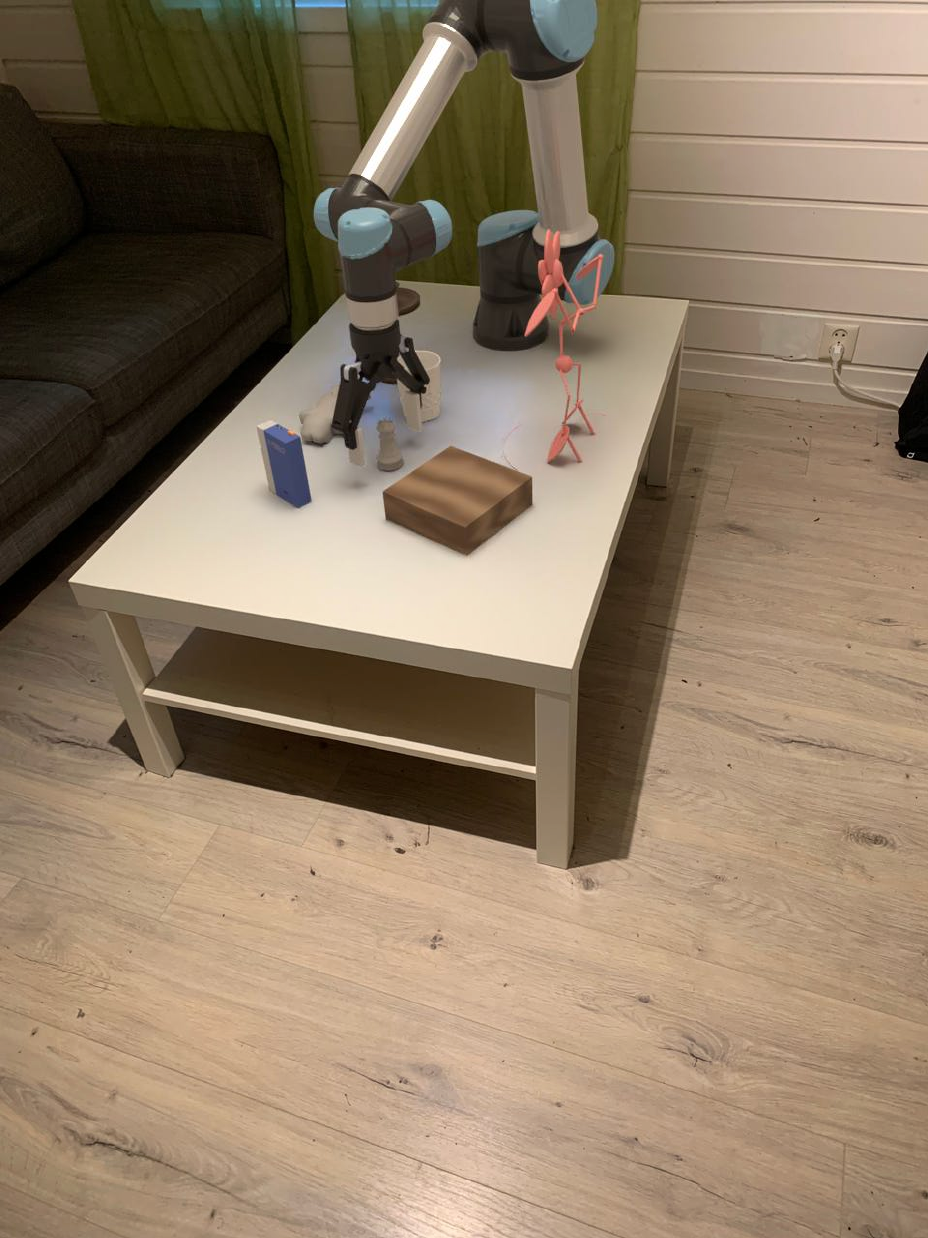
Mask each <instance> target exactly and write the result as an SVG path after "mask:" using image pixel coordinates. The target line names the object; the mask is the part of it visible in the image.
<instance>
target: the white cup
mask: <svg viewBox="0 0 928 1238" xmlns="http://www.w3.org/2000/svg"><path fill="white" fill-rule="evenodd" d="M415 352H416V354H417V356H418V357H419V359H420V361H421V363H422V365H423V367H424V369H425V371H426V372H427V374H428V376H429V378H430V382H429V384H428V385H426V384H425V385H424V387H426V388H427V390H426V393H425V394H422V393H421V397H422V408H421V421H426V422H428V421H427V420H430V419H433V418H435V417H436V416H438V415H439V414H441V412H442V368H441V367H442V366H441V364H442V361H441V357H440V355H438V354H437V353H435V352H433V351H428V350H415ZM397 360H398V362H399V363H400V364H401V365H402V366H403V367H404V369H405V370H406V371H407V372H408V373H409V374H410V375H411V373H410V371H409V369H408V368H407V366H406V364H405V362H404V360H403V359H402V357H401V355H400V354H399V357H398V358H397ZM411 376H412V375H411ZM397 383H398V384H397V387H398V395H399V400H400V403H401V410H402V415H403V414H404V415H403V417H404V418H405V417H406V410H405V399H404V391H406V390H408V391H410V389H408V388H407V387H406V386H405V385H404V384H402V383H401V382H400V381H399V380H398V379H397ZM439 416H440V415H439ZM439 416H438V417H439ZM436 418H437V417H436ZM436 418H435V419H436ZM433 420H434V419H433ZM430 421H431V420H430Z"/></svg>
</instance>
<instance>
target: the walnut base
mask: <svg viewBox="0 0 928 1238" xmlns="http://www.w3.org/2000/svg"><path fill="white" fill-rule="evenodd" d="M382 499H383V509H384V517H385V520H387V521H389V522H392V523H393V524H396V525H398V526H400V527H403V528H405V529H406V530H409V531H411V532H414V533H416V534H418V535H421V536H422V537H425V538H427V539H429V540H432V541H434V542H436V543H438V544H440V545H443V546H445V547H448V549H449V548H450V549H452V550H453V551H455V552H458V553H460V554H463V555H465V556H469V555H470V554H471V553H473V551H475V550H476V549H477V548H479V547H481V546H482V545H483V544H484V543H485V542H486V541H487V540H489V539H491V538H492V537H493V536H494V535H495V534H497V533H498V532H499V531H500V530H502V529H503V528H505V527H506V526H507V525H508V524H509V523H511V522H512V521H513V520H515V519H516V518H517V517H518V516H520V515H521V514H522V513H523V512H524V511H526V510H527V509H529V508H530V507H531V506H532V505H533V476H531V475H530V474H529V475H528V474H526V473H523V472H521V471H519V470H517V469H514V468H511V467H508V466H505V465H502V464H500V463H498V462H495V461H494V460H493V461H492V460H490V459H487V458H484V457H482V456H478V455H476V454H474V453H471V452H469V451H466V450H463V449H461V448H458V447H455V446H453V445H449V446H448V447H446V448H445V449H443V450H442V451H440V452H438V454H436V455H434V456H433V457H431V458H429V460H427V461H425V462H424V463H422V464H421V465H420V466H418V467H416V468H415V469H413V470H412V471H410V473H408V474H406V475H405V476H403V477H401V478H400V479H399V480H397V481H395V482H394V483H392V485H390V486H389V487H387V488H386V489H384V490H382Z"/></svg>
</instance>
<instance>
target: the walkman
mask: <svg viewBox="0 0 928 1238" xmlns="http://www.w3.org/2000/svg"><path fill="white" fill-rule="evenodd" d="M256 430H257V436H258V439H259V445H260V453H261V456H262V461H263V462H262V463H263V466H264V470H265V476H266V481H267V485H268V489H269V491H270V492H272V493H274V494H275V495H277V496H278V497H280V498H281V499H283V500H285V501H286V502H288V503H289V504H290V505H292V506H294V507H295V508H298V509H299V508H301V507H303V506H305V505H307V504H309V503H310V502H312V495H311V489H310V485H309V479H308V474H307V473H308V472H307V467H306V462H305V456H304V450H303V444H302V437H301V435H298V434H296V432H295V431H293V430H290V429H289V428H286V427H284V426H283V425H281V424H279V423H277V422H275V421H273V420H272V419H270V420H268V421H266V422H262V423H259V424H257V425H256Z"/></svg>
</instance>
